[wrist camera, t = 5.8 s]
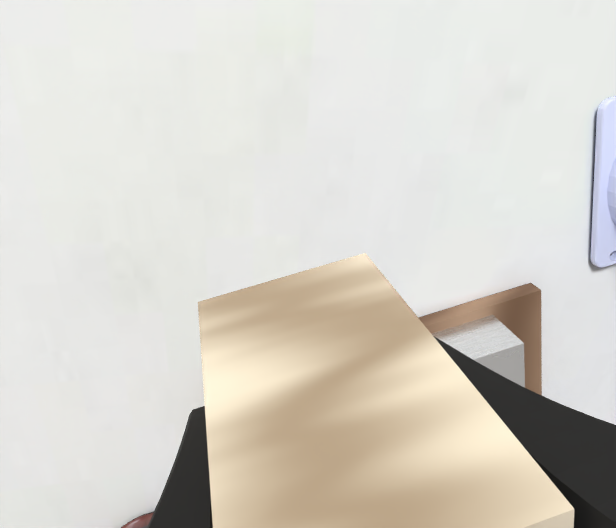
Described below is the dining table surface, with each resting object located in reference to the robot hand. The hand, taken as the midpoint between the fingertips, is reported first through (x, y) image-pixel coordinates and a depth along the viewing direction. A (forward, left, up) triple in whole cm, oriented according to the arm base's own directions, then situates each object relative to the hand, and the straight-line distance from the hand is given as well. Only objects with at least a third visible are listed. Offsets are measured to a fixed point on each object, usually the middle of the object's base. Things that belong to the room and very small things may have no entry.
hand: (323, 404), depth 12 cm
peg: (0, 0, -2) cm, 2 cm away
